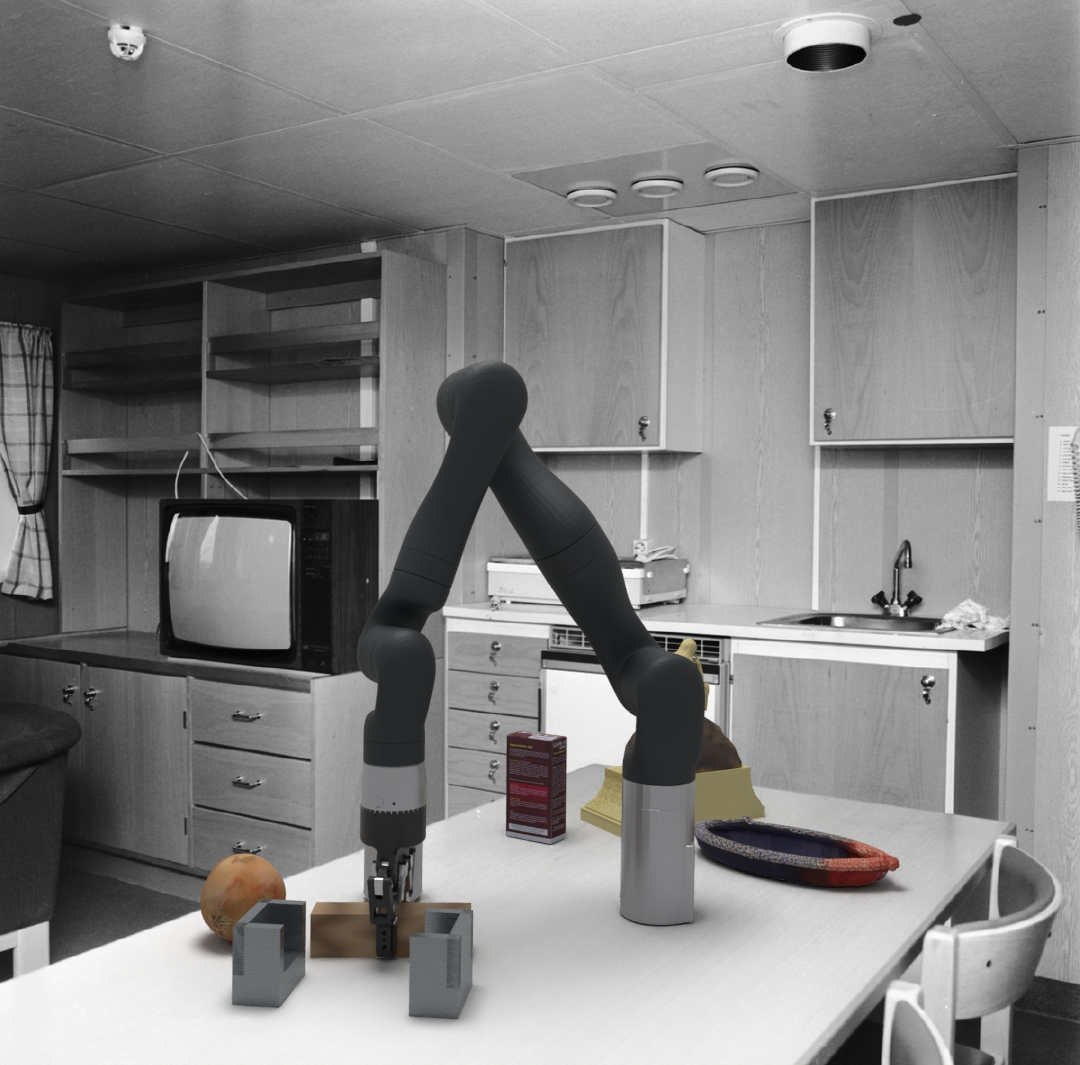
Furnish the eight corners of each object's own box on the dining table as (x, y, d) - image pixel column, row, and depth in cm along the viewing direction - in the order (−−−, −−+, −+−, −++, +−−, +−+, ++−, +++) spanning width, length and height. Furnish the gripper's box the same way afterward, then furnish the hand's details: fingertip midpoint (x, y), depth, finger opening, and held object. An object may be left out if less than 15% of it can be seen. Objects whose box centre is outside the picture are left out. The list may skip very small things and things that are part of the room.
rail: (470, 945, 135) (471, 902, 135) (469, 958, 131) (470, 914, 131) (315, 944, 135) (316, 902, 134) (310, 958, 131) (310, 914, 131)
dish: (722, 838, 181) (723, 806, 181) (915, 880, 162) (916, 844, 162) (669, 860, 169) (669, 826, 169) (870, 909, 150) (871, 871, 150)
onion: (299, 927, 140) (300, 845, 140) (263, 959, 130) (264, 870, 130) (225, 920, 142) (226, 839, 142) (184, 951, 132) (185, 864, 132)
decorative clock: (715, 800, 204) (718, 630, 203) (764, 817, 193) (767, 638, 192) (580, 820, 190) (583, 637, 189) (624, 840, 179) (628, 646, 178)
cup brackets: (472, 984, 124) (473, 910, 124) (458, 1018, 116) (459, 939, 115) (260, 971, 127) (261, 898, 126) (232, 1004, 118) (232, 926, 118)
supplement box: (567, 838, 179) (569, 735, 179) (550, 845, 175) (552, 740, 175) (520, 829, 184) (522, 729, 183) (503, 836, 180) (505, 734, 179)
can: (411, 911, 146) (412, 817, 146) (355, 906, 147) (356, 813, 147) (429, 892, 153) (430, 802, 153) (375, 887, 155) (376, 798, 154)
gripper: (412, 818, 125) (410, 975, 125) (437, 786, 139) (436, 927, 140) (344, 815, 126) (342, 971, 126) (376, 783, 140) (375, 924, 140)
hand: (391, 947), depth 133 cm, fingers closed on rail, 4 cm apart
